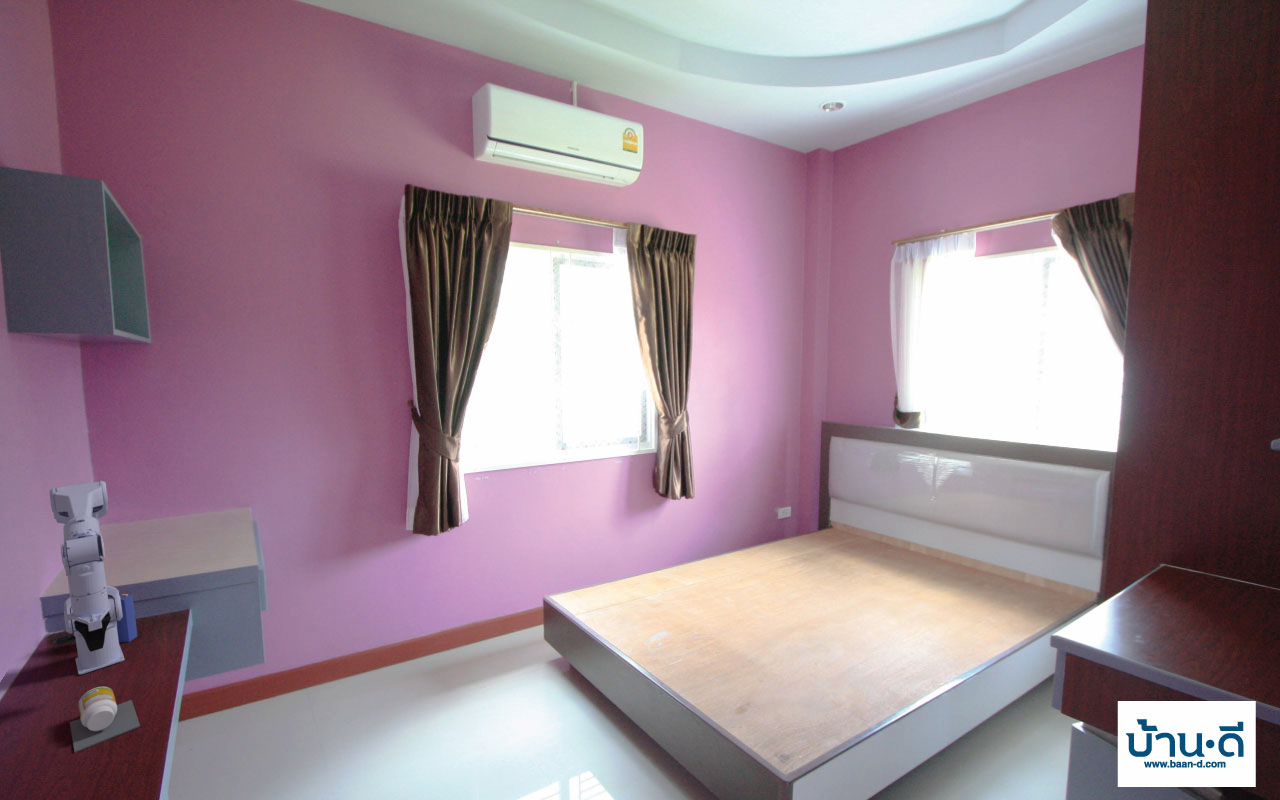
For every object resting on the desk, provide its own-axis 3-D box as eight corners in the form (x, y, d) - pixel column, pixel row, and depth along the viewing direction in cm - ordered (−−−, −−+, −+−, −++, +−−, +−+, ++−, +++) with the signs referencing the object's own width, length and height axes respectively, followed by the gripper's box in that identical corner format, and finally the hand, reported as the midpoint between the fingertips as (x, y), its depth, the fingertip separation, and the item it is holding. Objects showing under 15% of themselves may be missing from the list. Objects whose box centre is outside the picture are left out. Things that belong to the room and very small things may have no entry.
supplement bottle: (104, 712, 120) (109, 735, 113) (71, 711, 116) (75, 734, 109) (119, 686, 121) (125, 707, 114) (88, 684, 117) (92, 706, 111)
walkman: (137, 636, 148) (132, 593, 146) (129, 642, 145) (123, 598, 144) (105, 637, 147) (99, 594, 146) (96, 643, 144) (90, 599, 143)
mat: (70, 723, 115) (69, 722, 115) (131, 701, 122) (131, 699, 122) (74, 752, 107) (74, 751, 107) (140, 726, 114) (140, 725, 114)
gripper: (60, 586, 124) (68, 644, 126) (64, 608, 114) (73, 670, 116) (104, 576, 129) (111, 631, 131) (111, 596, 120) (119, 655, 121)
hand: (96, 648), depth 124 cm, fingers closed
